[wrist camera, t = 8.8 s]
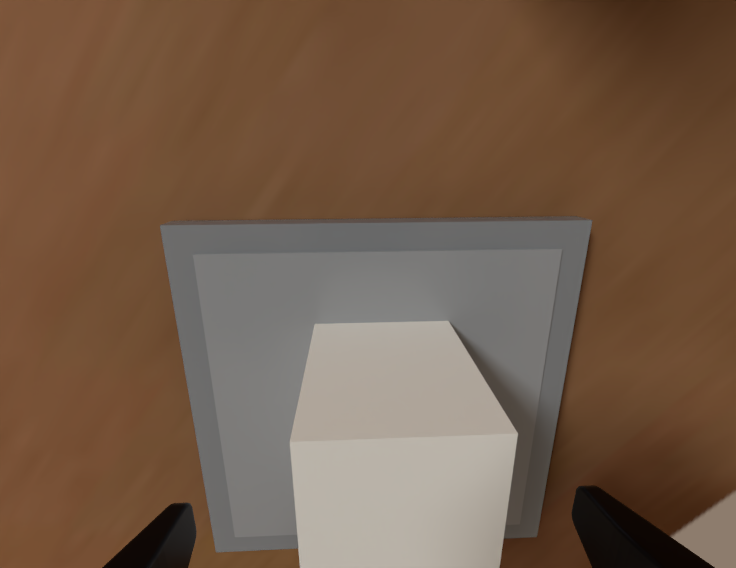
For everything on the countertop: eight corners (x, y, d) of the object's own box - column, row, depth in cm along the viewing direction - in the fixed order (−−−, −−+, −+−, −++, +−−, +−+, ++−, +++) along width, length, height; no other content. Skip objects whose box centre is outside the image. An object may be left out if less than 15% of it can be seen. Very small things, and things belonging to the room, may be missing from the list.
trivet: (576, 216, 12) (594, 220, 11) (527, 518, 15) (538, 539, 14) (172, 220, 11) (158, 226, 10) (222, 531, 15) (215, 554, 14)
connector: (448, 320, 12) (518, 433, 7) (434, 531, 14) (478, 720, 9) (314, 324, 11) (290, 442, 7) (325, 536, 14) (313, 731, 9)
